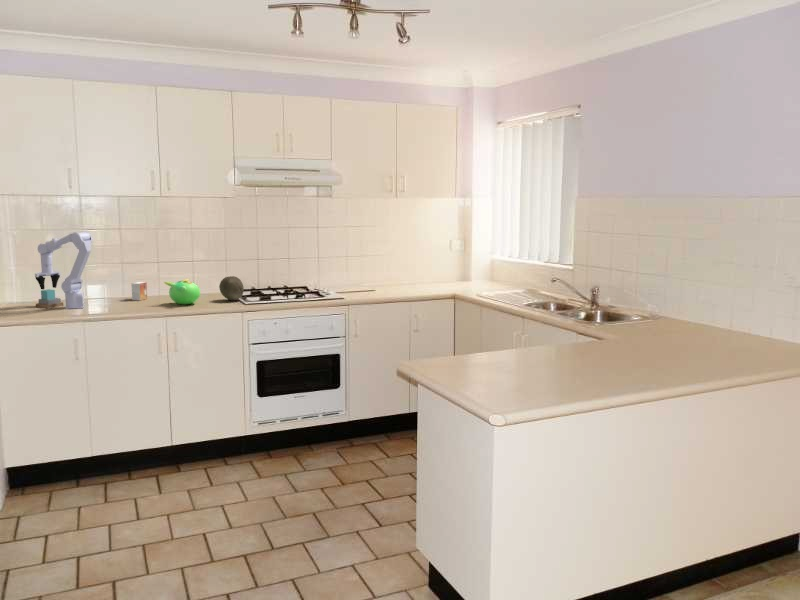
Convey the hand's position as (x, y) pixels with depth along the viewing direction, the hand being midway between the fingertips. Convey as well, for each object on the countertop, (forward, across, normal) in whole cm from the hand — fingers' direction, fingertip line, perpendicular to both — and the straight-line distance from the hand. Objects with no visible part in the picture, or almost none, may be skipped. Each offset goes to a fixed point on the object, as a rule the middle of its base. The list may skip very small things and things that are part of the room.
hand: (48, 288), depth 388 cm
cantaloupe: (+11, -66, +77) cm, 102 cm away
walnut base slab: (+11, 0, 0) cm, 11 cm away
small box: (+11, -42, +26) cm, 50 cm away
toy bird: (+11, -42, +62) cm, 75 cm away
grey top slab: (+8, 0, 0) cm, 9 cm away
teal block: (+6, 0, 0) cm, 6 cm away
